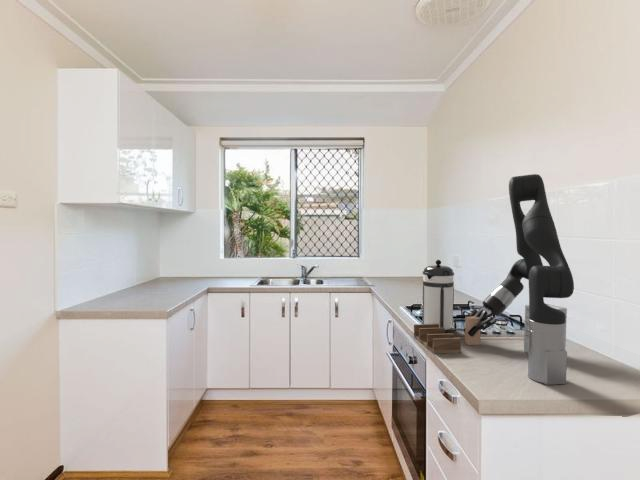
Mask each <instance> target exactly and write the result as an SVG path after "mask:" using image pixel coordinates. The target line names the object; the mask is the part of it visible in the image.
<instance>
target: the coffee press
mask: <svg viewBox="0 0 640 480" xmlns="http://www.w3.org/2000/svg"><path fill="white" fill-rule="evenodd" d="M441 264H442V261H441V259H437V260H436V261H435V265H428V266H426V267H424V269H423V271H422V275H423V279H422V320H421V321H422V323H421V324H439V328H442V327H444V328H445V331H447V330H451V329H453V328H454V329H453V330H455V331H456V327H455V326H454V302H455V300H454V299H455V298H454V296H455V293H454V292H455V291H454V289H455V288H454V287H455V286H454V285H455V284H454V283H455V281H454V276H455V272H454V270H453V269H452V268H451V267H449V266H448V265H447V266H446V265H441Z"/></svg>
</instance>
